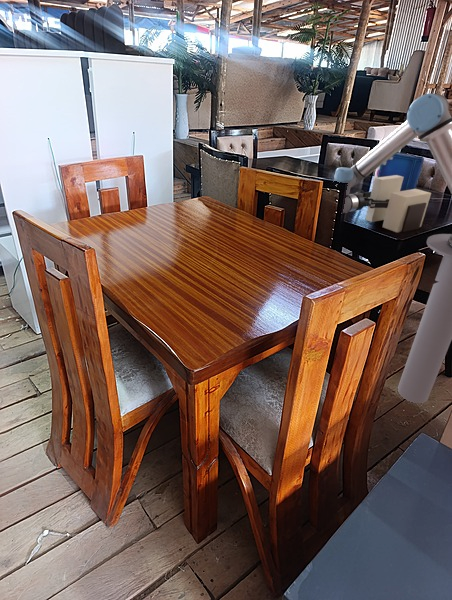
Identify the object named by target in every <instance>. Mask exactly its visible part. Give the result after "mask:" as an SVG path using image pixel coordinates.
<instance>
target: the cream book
mask: <svg viewBox="0 0 452 600" xmlns="http://www.w3.org/2000/svg"><path fill="white" fill-rule="evenodd" d="M403 178H404V177H402V176H398V175H393V176H385V177H377V178H375V179H374V178H373V181H374V183H373V182H372V186H373V187H371V191H372V192H371V191H370V192H371V196H370V198H372V199H373V200H384V201H385V200H387V199H390V195H391V193H392V192H399V191H400V189H401V185H402V182H403ZM370 202H371V200H370ZM366 209H367V210H366V214H365V217H364V220H365V221H367V222H369V223H375V222H380V221H384V219H385V215H386V211H387V208H370V206H367V208H366Z"/></svg>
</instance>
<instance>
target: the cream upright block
mask: <svg viewBox="0 0 452 600" xmlns="http://www.w3.org/2000/svg"><path fill="white" fill-rule="evenodd" d="M431 195H432V192H430V191H425V190H422V189H418V188H415V189H411V190H405V191H399V192H392V193H391V195H390V199H389V203H388V207H387V211H386V215H385V219H384V220H383V223H382V228H384V229H386V230H389V231H392V232H394V233H406V232H409V231H414V230H419V229H420V228H421V227H422V225H423V222H424V220H425V219H424V218H425V216H426V212H427V210H428V209H427V208H428V206H429V201H430V199H431Z"/></svg>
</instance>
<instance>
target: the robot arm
mask: <svg viewBox="0 0 452 600" xmlns="http://www.w3.org/2000/svg"><path fill="white" fill-rule="evenodd" d="M449 103H450V102H449V101H448V99H447V97H445V95H442V94H440V93H425V94H423V95H421V96H419V97H417V98H415V100H414V101H412V103H411V104H410V106H409V107H408V110H407V113H406V119H405V121H404V122H403V123H402V124H400V126H398V127H397V128H396V129H395V130H394V131H392V132H391V133H390V134H389V135H388V136H386V137H385V138H384V139H383V140H382V141H380V142H379V143H378V144H377V145H376V146H375V147H373V149H371V150H370V151H369V152H368V153H366V154H365V155H364V156H363V157H362V158H361V159H360V160H358V161H357V162H356V163H354V164H353V165H352V166H351V167H345V166H344V167H343V166H342V167H337V168H336V169H335V173H334V175H333V182H334V181H337V182H339V183H340V182H342V183H348V184H347V185H348V186H347V190H346V198H345V204H344V209H343V213H342V214H348V213H350V212H357V211H361V210H363V208H365V207H366V208H367V207H368V206H370V208H387V207H388V203H389V199H387V200H385V201H384V200H373V199H372V198H370V196H371V192H372V190H371V191H366V192H364V190H361V191H356V192H354V193H350V192H351V188H353V187H355V186H357V185H359V184H360V183H362V182H363V180H364V179H366V178H367V177H368V176H370V175H371V174H372V173H373V172H374V171H376V169H377V168H378V167H379V166H380V165H382V164H383V163H384V162H385V161H387V160H388V159H389V158H391V157H392V156H393V155H394V154H396V153H397V152H400V151H401V150H402V149H403V148H405V147H406V146H407V145H408V144H410V143H411V142H412V141H414V140H415V139H416V138H417V137H418V139H419V141H420V142H422V143H426V145H427V147H428V150H429V151H430V153H431V155H432V157H433V159H434V161H435V164H436V165H437V167H438V169H439V172H440V173H441V175H442V177H443V179H444V181H445V183H446V185H447V187H448V190H449V191H450V194H451V195H452V116H451V114H450V104H449ZM337 185H338V184H336V185H335V186H336V187H337ZM370 200H371V202H370ZM447 245H448V246H450V247H451V248H452V235H451V236H450V237H449V239H448V242H447Z"/></svg>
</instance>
